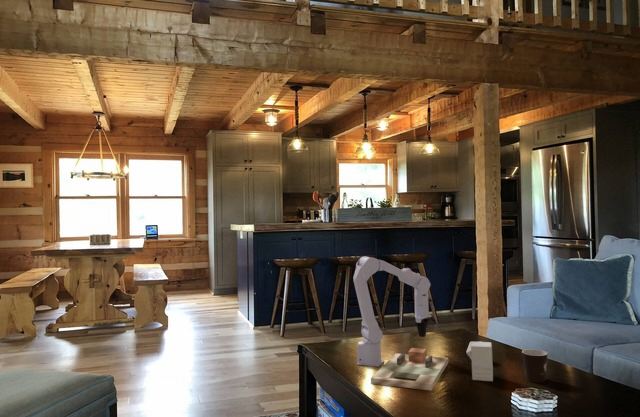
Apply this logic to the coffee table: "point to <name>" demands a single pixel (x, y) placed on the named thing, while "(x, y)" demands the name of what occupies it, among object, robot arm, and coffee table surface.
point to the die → (470, 350)
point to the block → (417, 355)
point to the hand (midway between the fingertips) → (422, 336)
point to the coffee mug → (535, 365)
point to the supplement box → (482, 361)
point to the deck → (410, 372)
